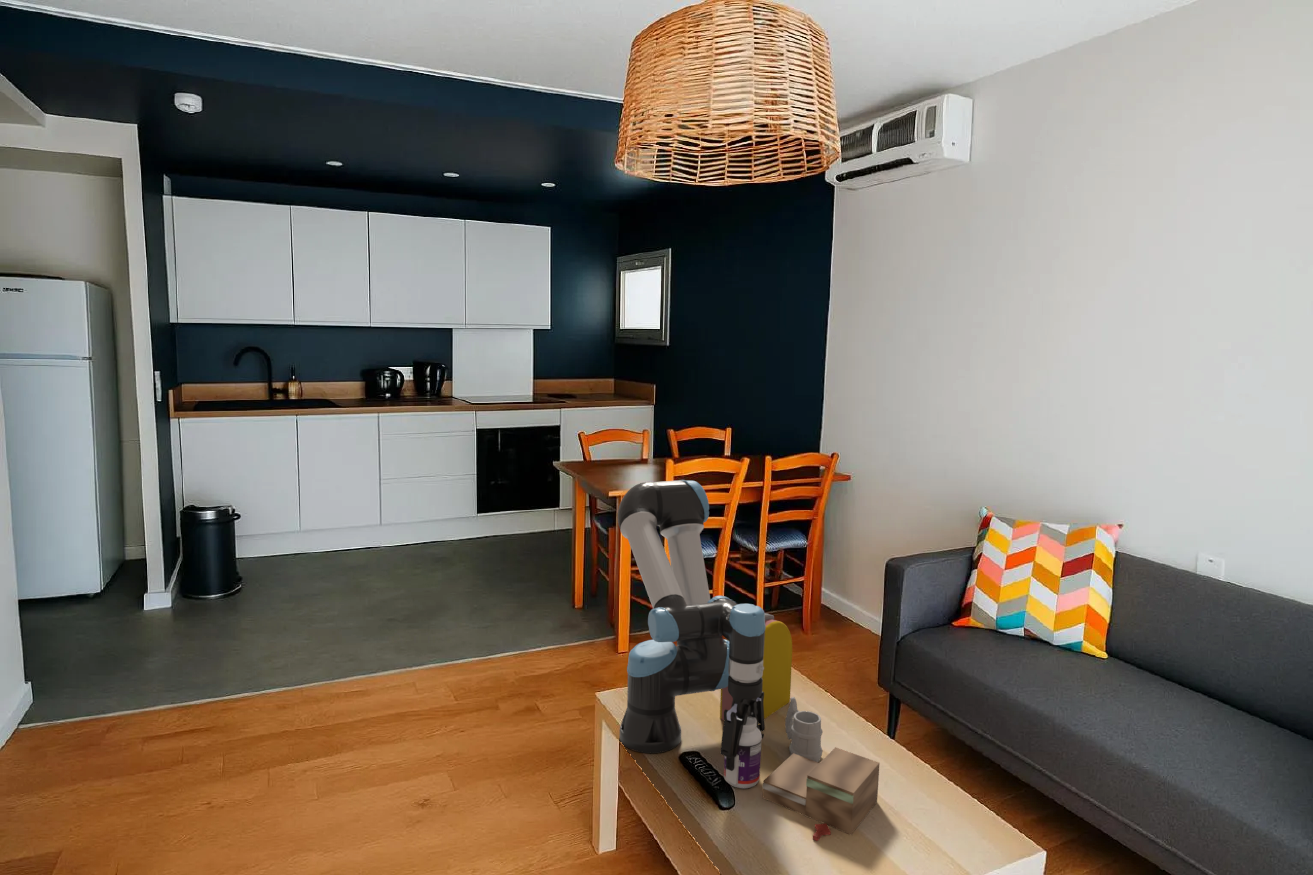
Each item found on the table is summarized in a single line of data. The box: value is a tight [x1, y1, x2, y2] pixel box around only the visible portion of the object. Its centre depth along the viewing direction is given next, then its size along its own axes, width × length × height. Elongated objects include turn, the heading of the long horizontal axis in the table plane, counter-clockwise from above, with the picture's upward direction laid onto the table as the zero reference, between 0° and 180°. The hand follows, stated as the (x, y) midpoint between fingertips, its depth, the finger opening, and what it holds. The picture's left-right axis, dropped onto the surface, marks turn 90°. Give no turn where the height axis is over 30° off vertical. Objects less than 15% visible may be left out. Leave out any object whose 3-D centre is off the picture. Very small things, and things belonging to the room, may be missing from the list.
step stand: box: [762, 746, 880, 842], centre depth 165 cm, size 20×20×9 cm
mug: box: [784, 696, 824, 763], centre depth 186 cm, size 8×12×12 cm, turn 26°
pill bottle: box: [723, 716, 763, 789], centre depth 173 cm, size 8×8×14 cm
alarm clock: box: [719, 612, 793, 721], centre depth 206 cm, size 21×9×26 cm, turn 140°
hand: (741, 772), depth 174 cm, fingers closed on pill bottle, 8 cm apart
